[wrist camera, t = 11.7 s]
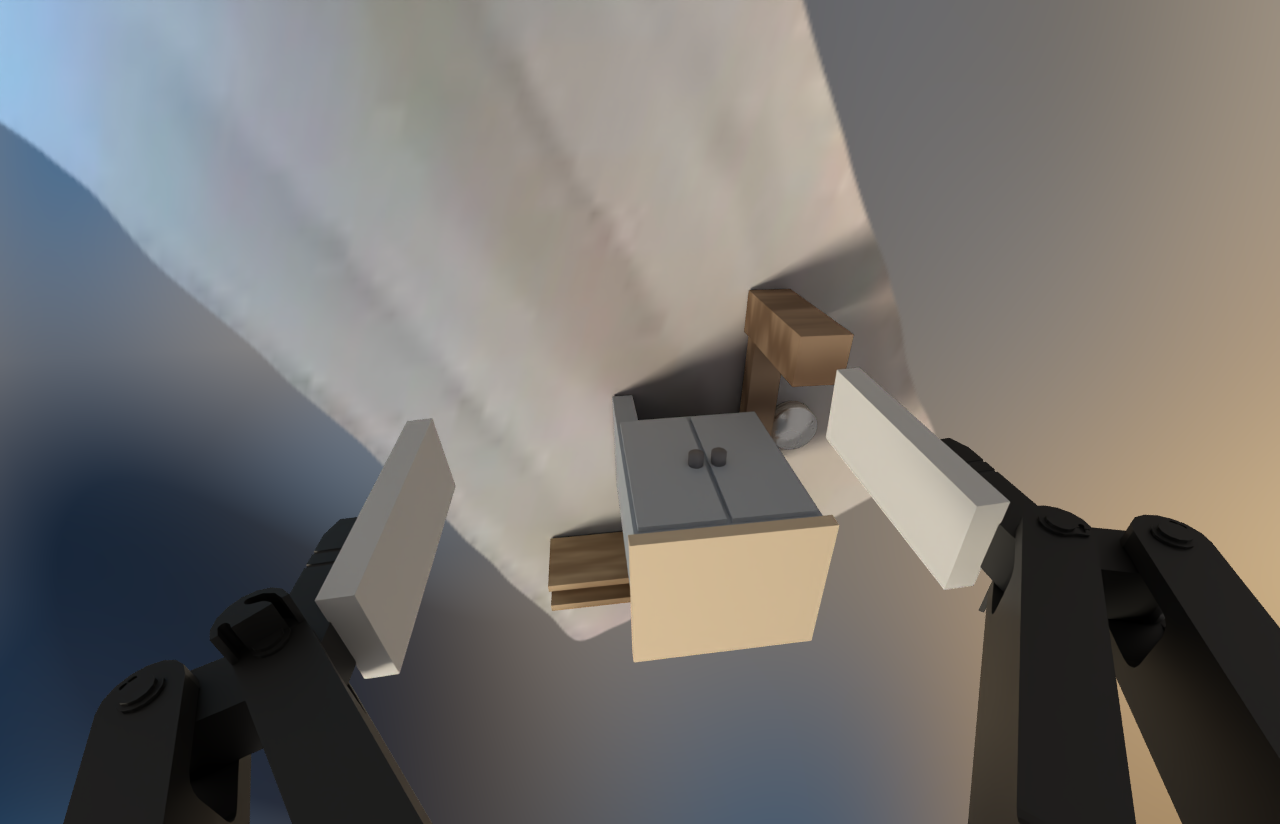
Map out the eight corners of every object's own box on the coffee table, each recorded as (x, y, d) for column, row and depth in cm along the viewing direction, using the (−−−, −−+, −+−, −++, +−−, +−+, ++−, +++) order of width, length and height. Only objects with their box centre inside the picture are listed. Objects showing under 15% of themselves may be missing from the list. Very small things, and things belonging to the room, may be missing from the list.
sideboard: (607, 384, 49) (629, 534, 31) (743, 374, 50) (842, 513, 32) (613, 487, 55) (633, 662, 37) (734, 476, 56) (811, 640, 38)
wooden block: (748, 290, 46) (800, 336, 35) (790, 288, 46) (853, 334, 36) (731, 444, 54) (769, 518, 44) (766, 441, 55) (812, 514, 44)
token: (770, 400, 52) (776, 409, 51) (814, 400, 53) (822, 408, 51) (761, 440, 55) (767, 449, 53) (804, 440, 55) (811, 449, 54)
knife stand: (550, 538, 58) (548, 586, 52) (718, 522, 60) (735, 566, 54) (553, 562, 60) (552, 610, 53) (716, 545, 61) (732, 590, 55)
